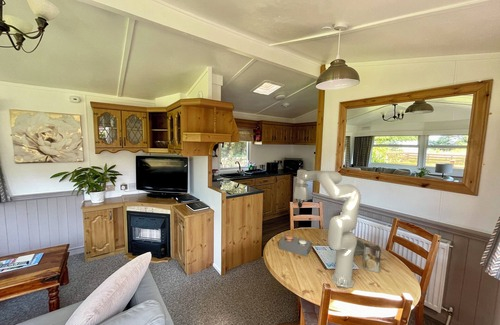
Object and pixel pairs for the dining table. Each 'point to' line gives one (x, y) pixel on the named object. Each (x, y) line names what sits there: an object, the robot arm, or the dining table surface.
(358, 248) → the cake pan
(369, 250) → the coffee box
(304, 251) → the console
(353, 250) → the robot arm
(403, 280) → the dining table surface
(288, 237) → the plunger terracotta
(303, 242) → the plunger white
